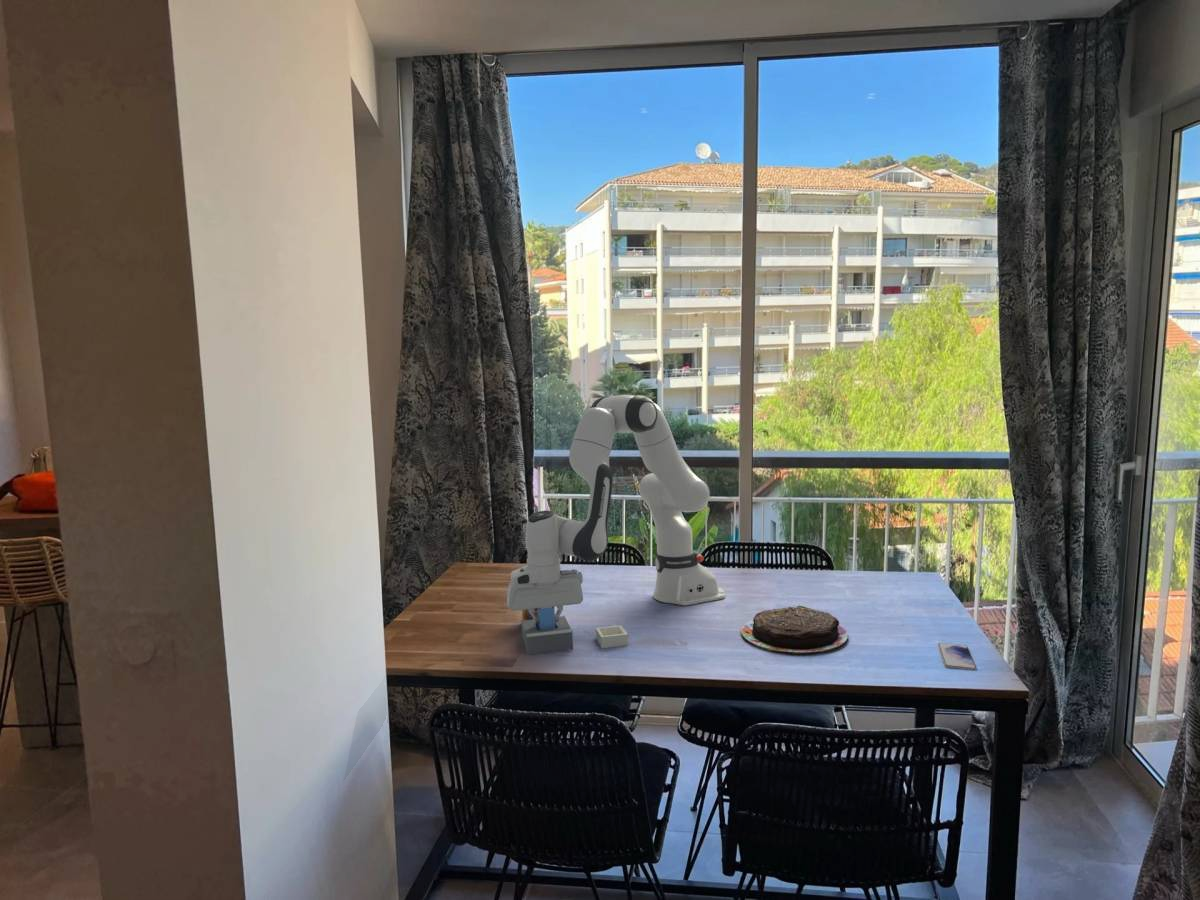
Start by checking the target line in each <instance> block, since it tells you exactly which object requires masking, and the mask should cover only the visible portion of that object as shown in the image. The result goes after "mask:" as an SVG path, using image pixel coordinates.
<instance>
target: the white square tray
mask: <svg viewBox="0 0 1200 900" xmlns="http://www.w3.org/2000/svg"><path fill="white" fill-rule="evenodd" d="M595 639H596V640H597V643H598V644H599V646H600V648H601V649H605V648H606V649H607V648H614V647H615V648H616V647H625V646H629V634H628V632H627V631H626V629H625V628H624V627H623V626H622V624H620V625H619V624H618V625H610V626H600V627H595Z"/></svg>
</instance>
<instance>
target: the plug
mask: <svg viewBox="0 0 1200 900" xmlns="http://www.w3.org/2000/svg"><path fill="white" fill-rule="evenodd" d="M537 610H538V617H539V624H538V630H544V629H553V628H555V614H556V613H555V614H554V607H544V608H537Z"/></svg>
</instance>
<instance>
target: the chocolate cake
mask: <svg viewBox="0 0 1200 900" xmlns="http://www.w3.org/2000/svg"><path fill="white" fill-rule="evenodd" d="M740 632H741V636H742V638H743V639H744V641H745V642H747V643H749V644H751V645H753V646H756V647H757V648H758V647H759V648H761V649H763V650H766V651H768V652H769V651H770V652H773V653H787V654H789V653H790V654H793V655H795V656H802V655H806V654H814V653H821V654H822V653H823V654H825V653H828V652H830V651H831V652H832V651H833V650H836V649H838V648H841V647H842V646H843V645H845V643H846V642H847V641H848V639H849V634H848V632H847V630H846V629H845V628H844V627H843V626H841V625H840V620H839V619H838V618H836V617H835V616H833V615H832V614H831V613H829V612H824V611H822V610H817V609H813V608H811V607H807V606H803V605H797V606H788V607H782V608H776V609H775V608H774V609H767V610H763V611H760V612H757V613H755V615H754V616H753V619H752V620H750V621H748V622H746V623H745V624H744V625H743V626H742V627H741V629H740Z"/></svg>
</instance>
